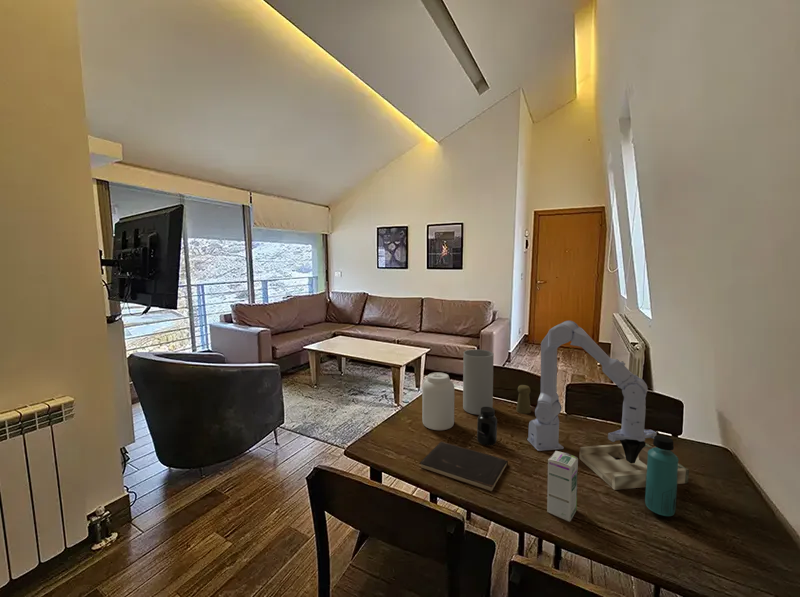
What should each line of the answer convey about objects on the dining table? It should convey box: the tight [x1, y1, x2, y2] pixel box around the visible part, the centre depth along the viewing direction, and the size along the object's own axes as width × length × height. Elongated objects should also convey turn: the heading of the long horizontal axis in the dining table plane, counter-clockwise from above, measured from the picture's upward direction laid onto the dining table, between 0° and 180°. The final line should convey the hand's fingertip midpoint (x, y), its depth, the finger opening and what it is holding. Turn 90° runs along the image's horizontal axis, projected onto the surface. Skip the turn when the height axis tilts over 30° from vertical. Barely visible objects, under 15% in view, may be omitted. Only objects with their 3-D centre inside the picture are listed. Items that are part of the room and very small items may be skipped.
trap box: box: [578, 442, 690, 491], centre depth 109 cm, size 23×16×4 cm
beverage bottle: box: [644, 434, 679, 517], centre depth 90 cm, size 6×7×20 cm
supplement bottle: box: [476, 407, 498, 447], centre depth 127 cm, size 7×7×12 cm
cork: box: [515, 384, 532, 415], centre depth 153 cm, size 6×6×11 cm
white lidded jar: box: [421, 371, 455, 431], centre depth 141 cm, size 12×12×20 cm
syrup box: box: [546, 450, 579, 523], centre depth 91 cm, size 6×6×14 cm
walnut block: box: [639, 445, 655, 465], centre depth 110 cm, size 6×4×4 cm, turn 97°
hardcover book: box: [419, 440, 509, 492], centre depth 112 cm, size 16×23×2 cm
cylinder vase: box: [462, 349, 495, 416], centre depth 154 cm, size 12×12×25 cm
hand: (630, 461), depth 109 cm, fingers closed
